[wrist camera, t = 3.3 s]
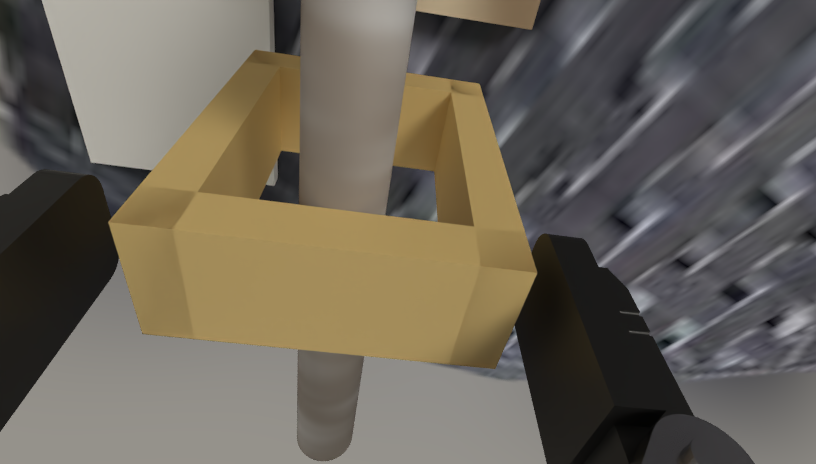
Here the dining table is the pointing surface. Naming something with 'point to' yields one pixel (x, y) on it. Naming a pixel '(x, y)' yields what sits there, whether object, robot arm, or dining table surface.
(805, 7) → the dining table surface
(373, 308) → the loop
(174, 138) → the mat
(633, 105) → the dining table surface
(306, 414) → the stand
